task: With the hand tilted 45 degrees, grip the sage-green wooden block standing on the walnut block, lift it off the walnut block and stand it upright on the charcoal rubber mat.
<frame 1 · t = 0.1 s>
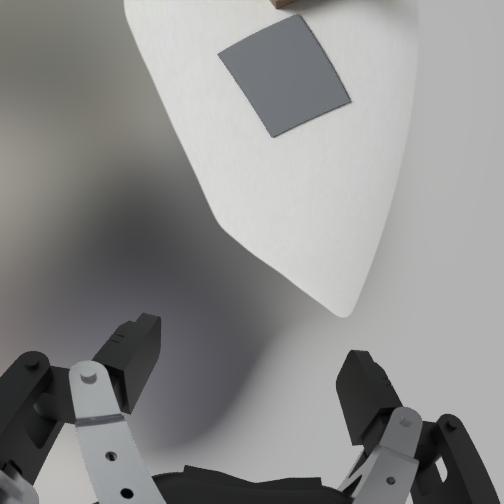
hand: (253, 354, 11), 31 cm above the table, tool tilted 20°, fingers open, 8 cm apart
charcoal mat: (285, 74, 29), on the table
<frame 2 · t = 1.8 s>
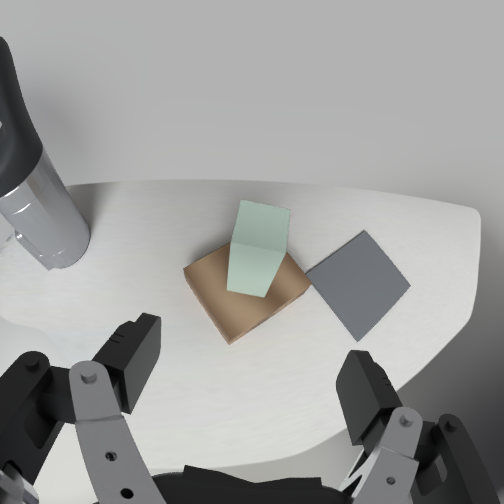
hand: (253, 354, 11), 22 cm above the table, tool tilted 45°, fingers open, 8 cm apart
walnut block: (245, 288, 36), on the table
sage block: (248, 276, 32), point 4 cm above the table, touching walnut block
charcoal mat: (362, 281, 38), on the table
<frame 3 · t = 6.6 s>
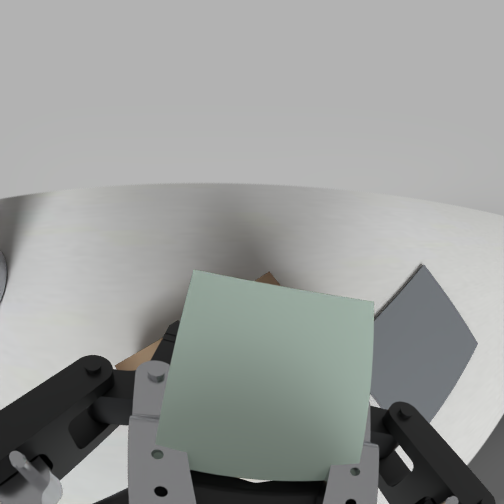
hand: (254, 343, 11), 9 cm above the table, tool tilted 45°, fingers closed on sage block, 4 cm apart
walnut block: (235, 385, 18), on the table
sage block: (239, 385, 15), point 4 cm above the table, touching gripper, walnut block
charcoal mat: (422, 350, 21), on the table
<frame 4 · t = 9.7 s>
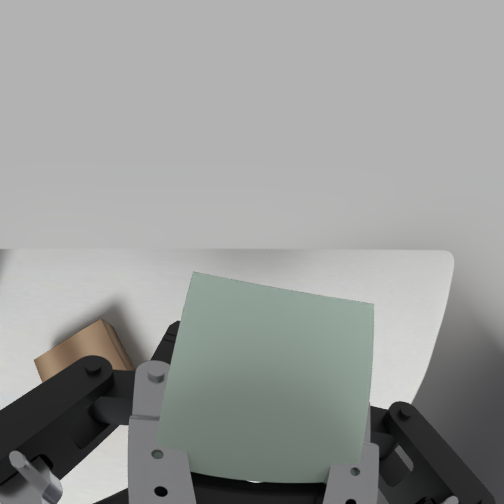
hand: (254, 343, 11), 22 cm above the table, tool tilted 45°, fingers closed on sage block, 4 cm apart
walnut block: (94, 379, 27), on the table
sage block: (239, 386, 15), point 17 cm above the table, touching gripper
when the fingers open (7 cm above the table, at t = 13.3 s): sage block drops 1 cm, resting on charcoal mat.
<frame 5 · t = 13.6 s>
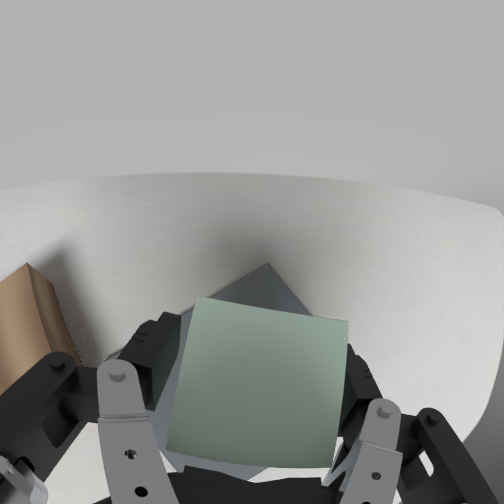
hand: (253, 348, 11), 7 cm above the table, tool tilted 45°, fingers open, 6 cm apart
walnut block: (22, 367, 14), on the table
sage block: (237, 387, 16), resting on charcoal mat
charcoal mat: (237, 385, 16), on the table
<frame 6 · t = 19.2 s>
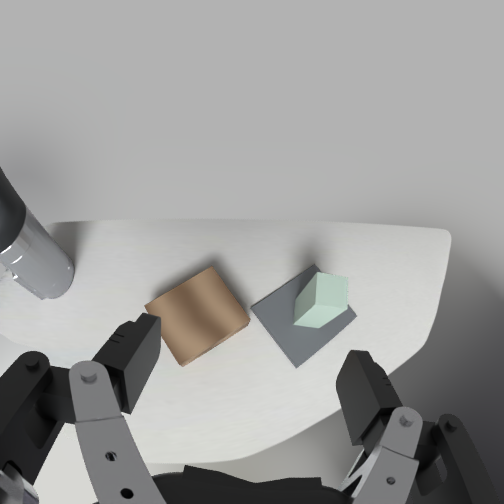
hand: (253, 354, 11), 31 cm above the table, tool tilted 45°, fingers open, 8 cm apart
walnut block: (197, 320, 41), on the table
sage block: (307, 313, 43), resting on charcoal mat
charcoal mat: (306, 313, 43), on the table
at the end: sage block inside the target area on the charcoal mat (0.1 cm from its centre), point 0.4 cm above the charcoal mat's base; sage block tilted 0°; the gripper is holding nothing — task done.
